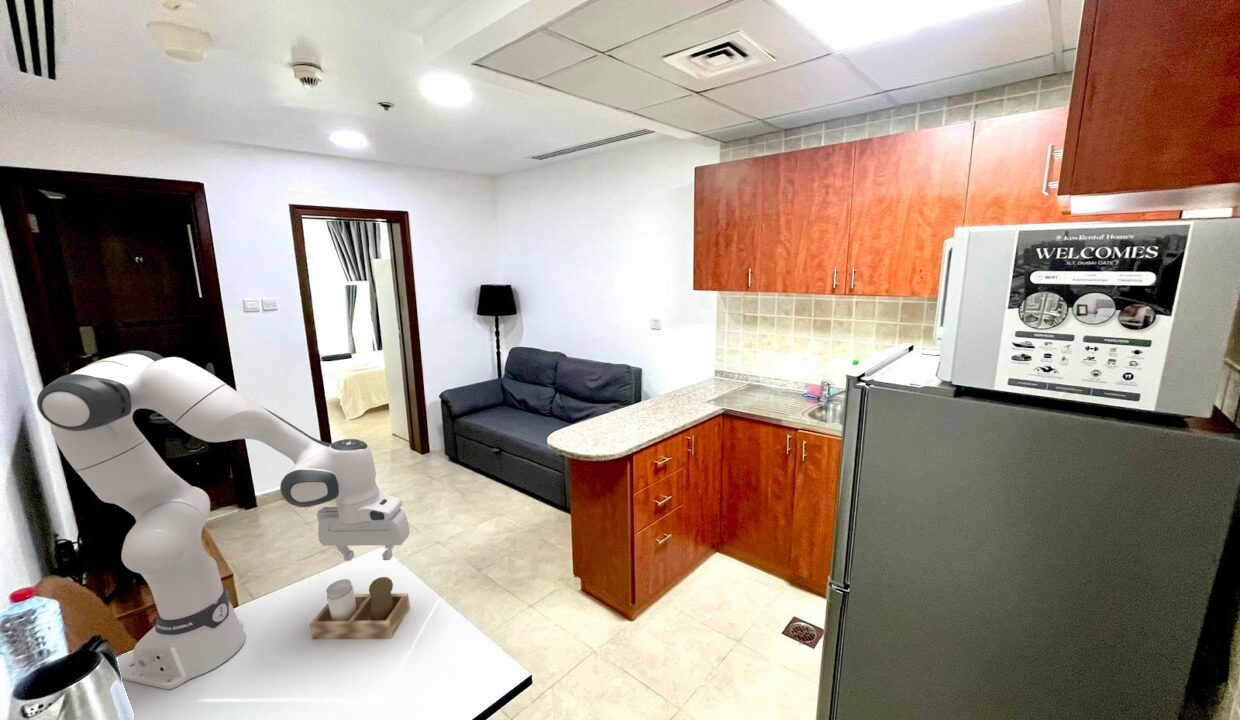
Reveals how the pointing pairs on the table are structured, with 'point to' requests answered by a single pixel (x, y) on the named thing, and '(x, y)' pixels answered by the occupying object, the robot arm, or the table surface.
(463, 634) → the table surface
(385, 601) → the cork
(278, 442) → the robot arm
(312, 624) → the caddy
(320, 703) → the table surface
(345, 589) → the salt shaker
